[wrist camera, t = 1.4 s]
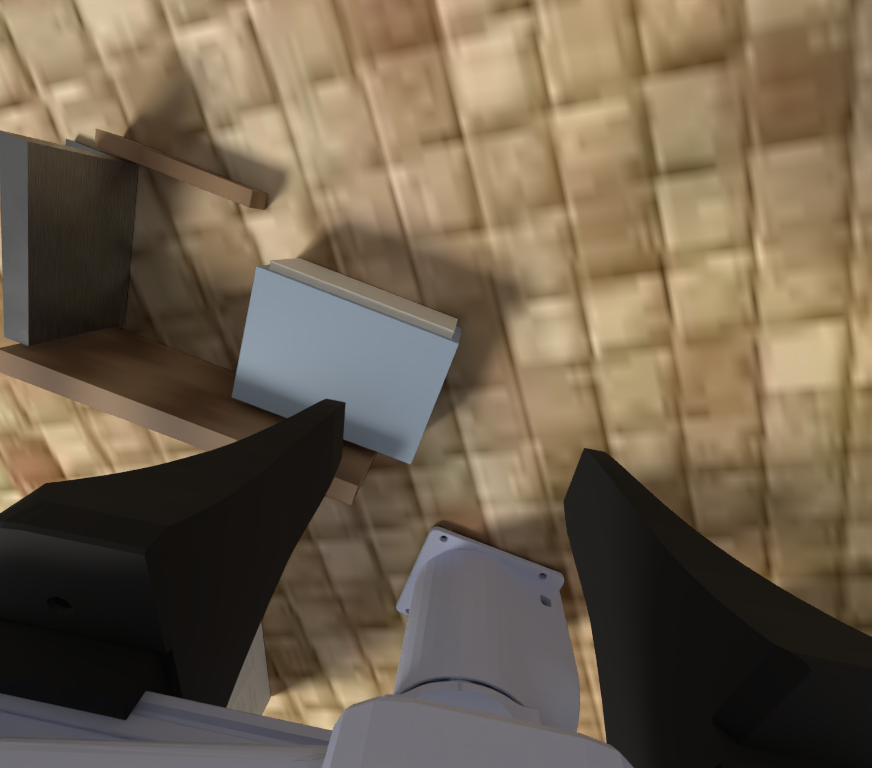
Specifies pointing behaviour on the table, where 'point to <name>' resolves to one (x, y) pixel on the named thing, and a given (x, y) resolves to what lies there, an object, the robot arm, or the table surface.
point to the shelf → (163, 359)
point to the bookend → (63, 238)
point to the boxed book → (344, 353)
